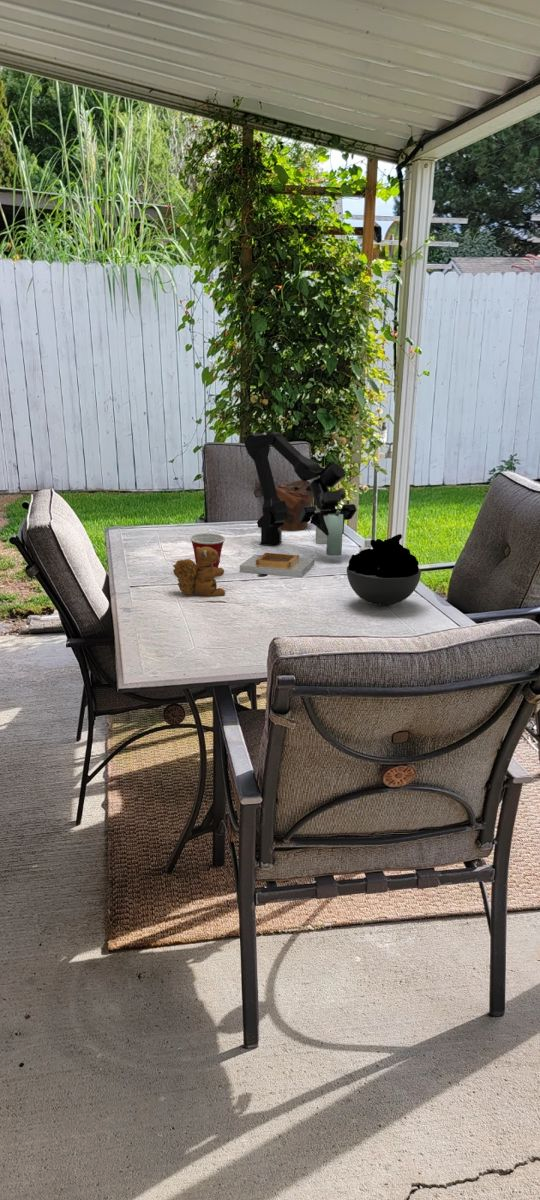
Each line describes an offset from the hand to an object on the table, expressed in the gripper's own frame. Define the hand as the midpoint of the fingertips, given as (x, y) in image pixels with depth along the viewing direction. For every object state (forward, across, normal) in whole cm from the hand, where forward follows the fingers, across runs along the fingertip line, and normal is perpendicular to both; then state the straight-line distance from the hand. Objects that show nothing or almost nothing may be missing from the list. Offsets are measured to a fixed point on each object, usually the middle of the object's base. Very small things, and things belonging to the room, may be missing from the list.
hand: (335, 534), depth 282 cm
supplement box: (-14, +11, +27) cm, 32 cm away
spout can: (+4, 0, +5) cm, 7 cm away
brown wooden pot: (-33, +9, +47) cm, 58 cm away
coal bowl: (+41, -10, -28) cm, 51 cm away
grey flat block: (+8, -21, +5) cm, 23 cm away
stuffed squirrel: (+22, -53, -8) cm, 58 cm away
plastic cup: (+9, -44, +5) cm, 46 cm away
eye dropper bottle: (+18, +4, -5) cm, 19 cm away
